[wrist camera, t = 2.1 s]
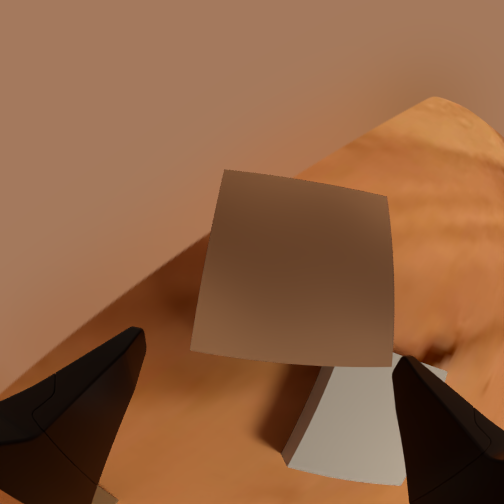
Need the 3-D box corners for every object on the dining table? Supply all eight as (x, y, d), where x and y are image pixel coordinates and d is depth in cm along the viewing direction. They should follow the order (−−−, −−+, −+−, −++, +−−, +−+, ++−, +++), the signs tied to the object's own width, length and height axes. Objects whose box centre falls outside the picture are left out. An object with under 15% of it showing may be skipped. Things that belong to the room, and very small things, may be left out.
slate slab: (382, 473, 15) (400, 485, 12) (280, 451, 16) (287, 467, 13) (424, 372, 18) (447, 371, 15) (331, 338, 19) (346, 334, 16)
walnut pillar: (291, 362, 18) (391, 366, 5) (223, 354, 18) (189, 350, 5) (297, 297, 19) (387, 196, 7) (232, 289, 19) (224, 169, 7)
